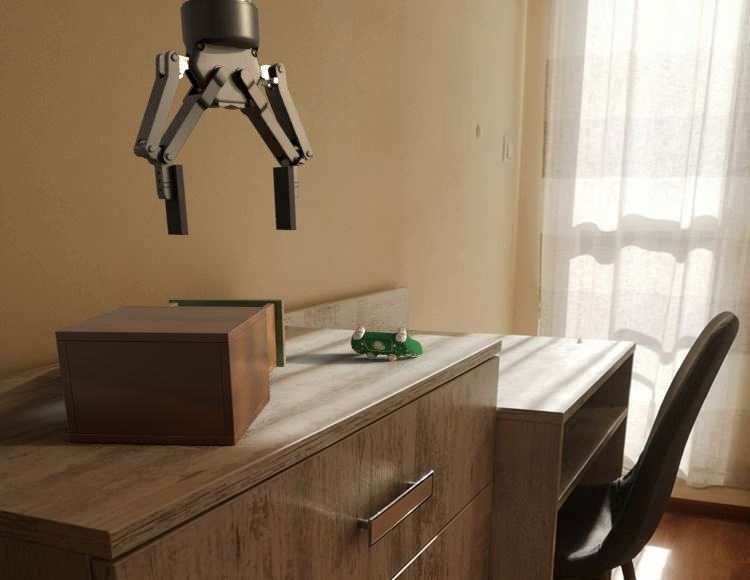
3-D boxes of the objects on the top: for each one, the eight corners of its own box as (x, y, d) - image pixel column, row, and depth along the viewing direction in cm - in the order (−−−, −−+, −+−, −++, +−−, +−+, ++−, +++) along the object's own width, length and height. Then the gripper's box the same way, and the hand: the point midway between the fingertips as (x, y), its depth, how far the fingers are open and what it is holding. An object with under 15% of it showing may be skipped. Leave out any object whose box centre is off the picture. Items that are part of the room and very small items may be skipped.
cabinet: (133, 398, 87) (124, 305, 83) (270, 400, 86) (265, 307, 83) (69, 442, 71) (54, 331, 68) (235, 445, 70) (228, 333, 67)
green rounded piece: (352, 369, 110) (341, 342, 105) (358, 345, 112) (348, 318, 106) (419, 373, 108) (411, 346, 102) (424, 349, 109) (417, 321, 104)
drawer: (186, 357, 104) (181, 294, 101) (291, 358, 103) (289, 295, 100) (134, 392, 85) (126, 316, 83) (261, 394, 84) (258, 317, 82)
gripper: (117, -26, 69) (145, 238, 76) (341, 13, 85) (346, 228, 92) (78, -10, 74) (108, 236, 82) (296, 24, 90) (305, 227, 97)
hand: (234, 232), depth 87 cm, fingers open, 13 cm apart
